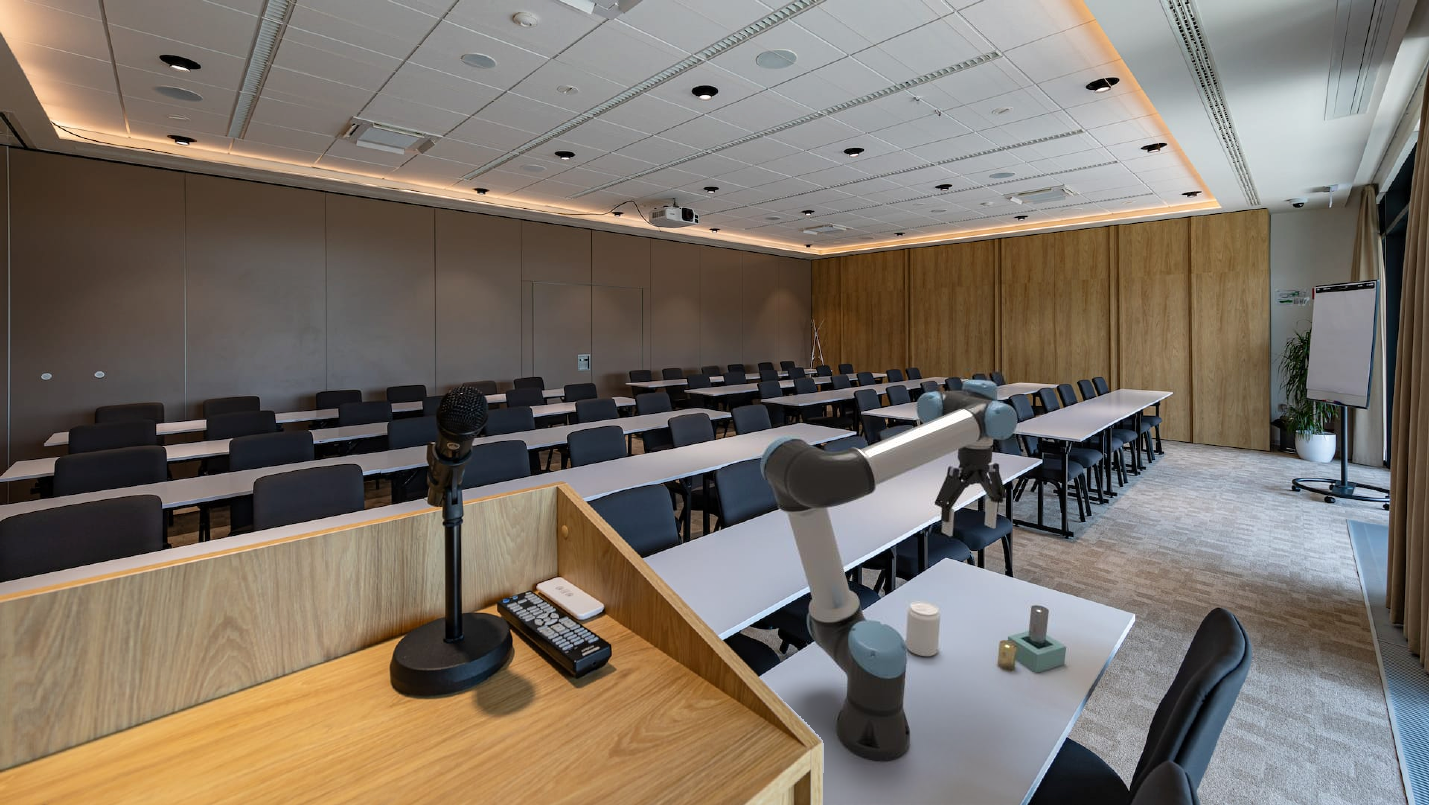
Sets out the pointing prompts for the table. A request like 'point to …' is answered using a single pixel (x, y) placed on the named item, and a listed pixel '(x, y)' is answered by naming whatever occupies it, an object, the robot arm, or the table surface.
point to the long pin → (1038, 626)
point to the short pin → (1007, 655)
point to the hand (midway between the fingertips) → (968, 530)
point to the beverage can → (922, 628)
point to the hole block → (1038, 653)
